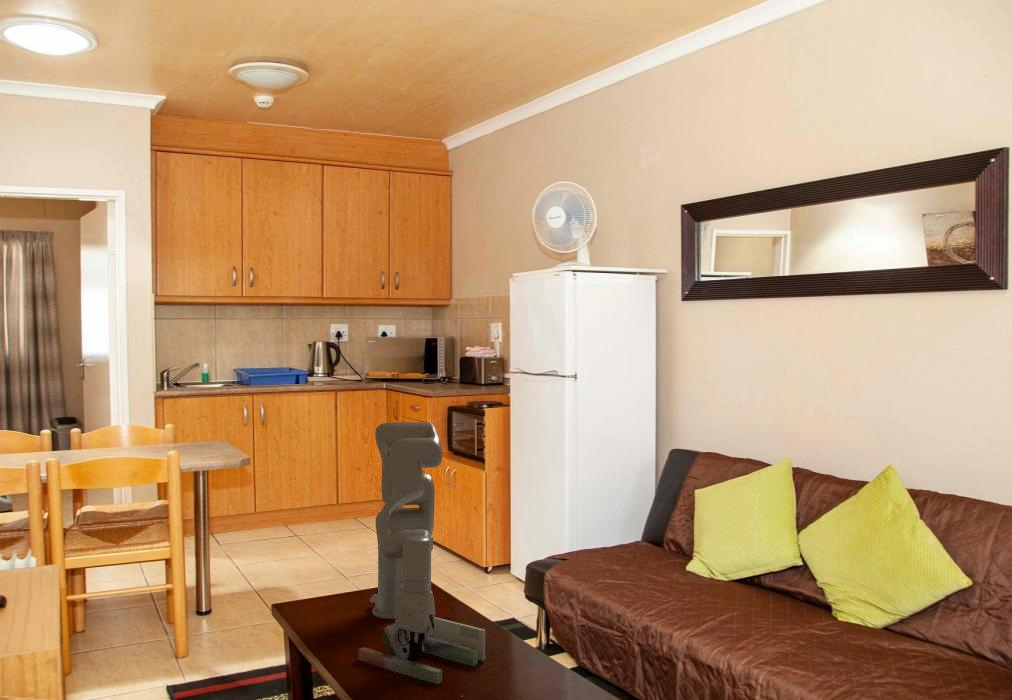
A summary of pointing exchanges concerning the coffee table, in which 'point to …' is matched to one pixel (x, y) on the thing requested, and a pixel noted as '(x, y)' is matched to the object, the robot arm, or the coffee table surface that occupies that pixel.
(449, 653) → the far rail
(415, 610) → the robot arm
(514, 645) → the coffee table surface
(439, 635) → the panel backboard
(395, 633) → the electrical switch
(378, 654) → the near rail
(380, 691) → the coffee table surface
